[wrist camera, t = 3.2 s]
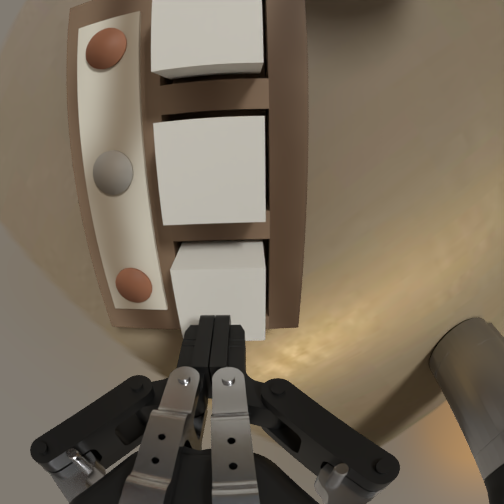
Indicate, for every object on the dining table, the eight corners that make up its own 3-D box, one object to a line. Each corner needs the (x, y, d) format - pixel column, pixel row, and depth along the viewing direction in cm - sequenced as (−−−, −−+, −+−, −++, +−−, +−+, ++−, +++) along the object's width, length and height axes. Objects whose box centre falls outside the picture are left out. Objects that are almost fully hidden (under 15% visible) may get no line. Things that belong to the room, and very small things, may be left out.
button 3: (258, -3, 12) (261, -28, 9) (260, 73, 14) (263, 62, 11) (170, 4, 12) (153, -18, 9) (170, 79, 14) (151, 71, 11)
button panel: (293, -3, 14) (304, -29, 10) (291, 296, 24) (299, 331, 20) (96, 21, 14) (66, 6, 10) (127, 297, 24) (110, 330, 20)
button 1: (262, 239, 19) (265, 268, 15) (262, 305, 21) (265, 340, 18) (182, 241, 19) (169, 269, 15) (191, 306, 21) (183, 340, 18)
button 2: (261, 115, 15) (264, 116, 12) (262, 200, 18) (265, 222, 14) (171, 120, 15) (153, 123, 12) (178, 203, 18) (163, 225, 14)
